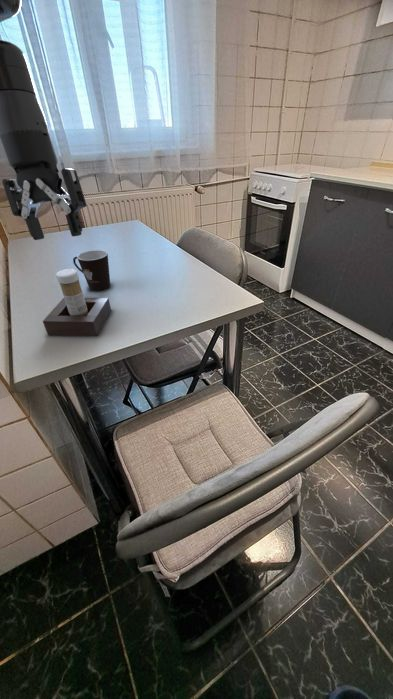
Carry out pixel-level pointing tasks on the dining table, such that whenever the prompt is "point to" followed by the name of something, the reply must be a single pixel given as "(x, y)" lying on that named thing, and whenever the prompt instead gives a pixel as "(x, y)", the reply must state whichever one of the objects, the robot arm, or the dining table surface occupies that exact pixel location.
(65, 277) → the sprinkles bottle
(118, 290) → the dining table surface
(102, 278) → the coffee mug
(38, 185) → the robot arm
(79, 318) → the bottle rack
